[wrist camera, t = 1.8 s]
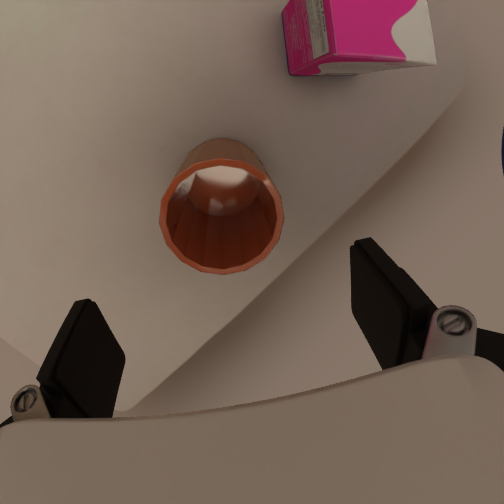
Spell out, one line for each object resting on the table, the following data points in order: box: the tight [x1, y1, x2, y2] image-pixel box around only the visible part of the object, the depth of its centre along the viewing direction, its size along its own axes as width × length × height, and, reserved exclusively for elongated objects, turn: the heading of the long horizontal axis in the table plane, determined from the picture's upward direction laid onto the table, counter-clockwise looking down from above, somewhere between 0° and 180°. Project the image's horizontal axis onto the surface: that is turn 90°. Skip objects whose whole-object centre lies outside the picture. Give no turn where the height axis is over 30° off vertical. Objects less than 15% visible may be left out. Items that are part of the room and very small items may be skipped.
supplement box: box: [282, 0, 436, 76], centre depth 15 cm, size 6×6×12 cm
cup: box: [159, 138, 284, 275], centre depth 21 cm, size 7×7×9 cm
